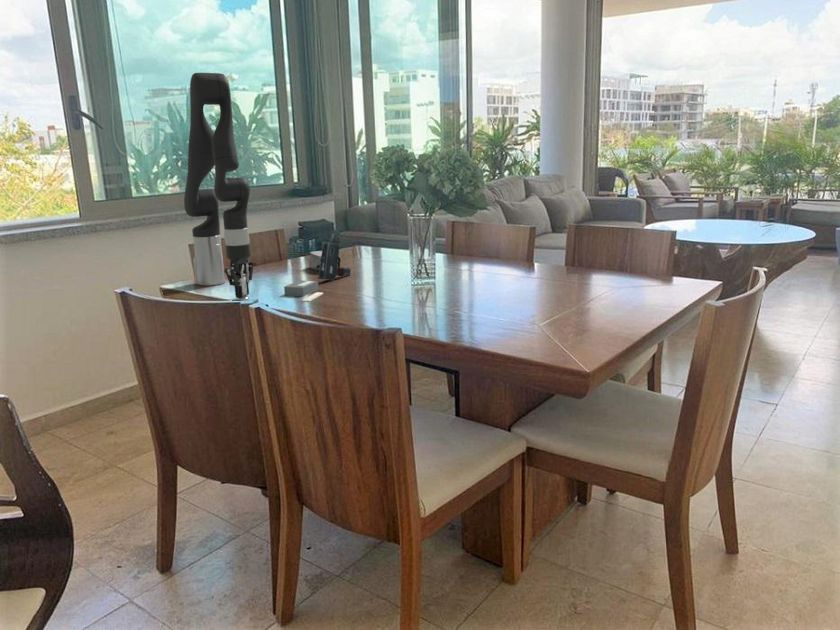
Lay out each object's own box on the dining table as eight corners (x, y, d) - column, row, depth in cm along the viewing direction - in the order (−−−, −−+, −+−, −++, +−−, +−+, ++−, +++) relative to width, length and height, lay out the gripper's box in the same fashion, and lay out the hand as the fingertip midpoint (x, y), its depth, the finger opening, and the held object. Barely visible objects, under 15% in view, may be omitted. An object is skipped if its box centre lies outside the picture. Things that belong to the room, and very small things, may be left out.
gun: (355, 237, 239) (328, 231, 227) (350, 282, 240) (322, 279, 228) (350, 237, 241) (322, 231, 228) (344, 281, 242) (317, 278, 229)
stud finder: (284, 296, 212) (284, 285, 211) (300, 289, 221) (299, 279, 220) (303, 297, 210) (302, 286, 209) (318, 290, 219) (317, 280, 218)
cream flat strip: (302, 301, 203) (302, 300, 203) (316, 293, 213) (316, 292, 213) (309, 301, 202) (309, 300, 202) (323, 293, 212) (323, 292, 212)
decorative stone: (322, 266, 263) (301, 268, 256) (322, 249, 261) (301, 251, 254) (344, 270, 253) (323, 273, 246) (344, 253, 251) (323, 255, 244)
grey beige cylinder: (234, 300, 207) (231, 275, 205) (240, 297, 210) (238, 273, 208) (245, 300, 206) (242, 275, 204) (251, 297, 209) (249, 273, 207)
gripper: (236, 246, 196) (241, 301, 200) (259, 239, 209) (263, 291, 213) (214, 246, 198) (220, 300, 202) (238, 239, 211) (243, 290, 215)
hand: (242, 295), depth 208 cm, fingers open, 3 cm apart
